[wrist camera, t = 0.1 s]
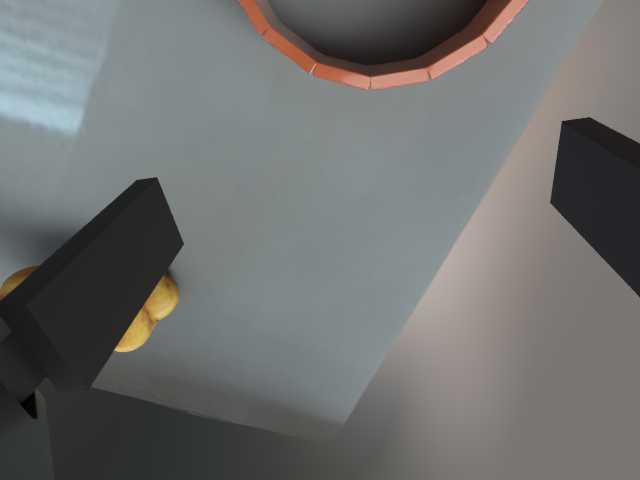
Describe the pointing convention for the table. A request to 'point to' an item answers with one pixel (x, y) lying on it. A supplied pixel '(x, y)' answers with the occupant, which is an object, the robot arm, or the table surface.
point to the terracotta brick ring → (431, 64)
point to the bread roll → (145, 321)
